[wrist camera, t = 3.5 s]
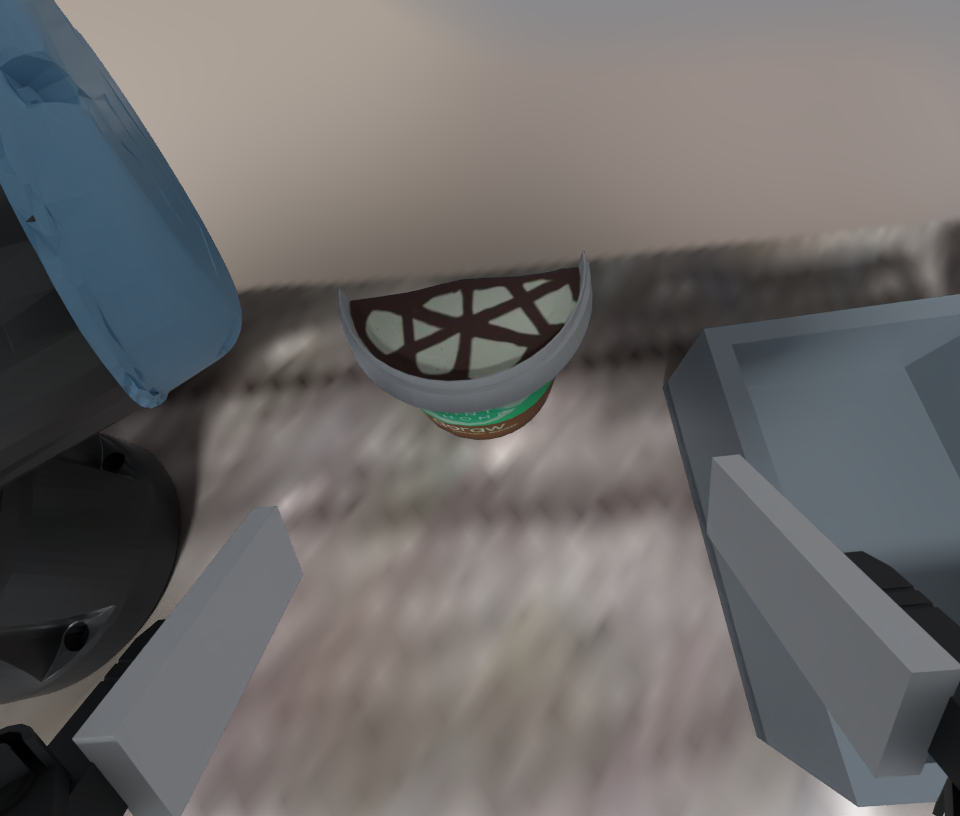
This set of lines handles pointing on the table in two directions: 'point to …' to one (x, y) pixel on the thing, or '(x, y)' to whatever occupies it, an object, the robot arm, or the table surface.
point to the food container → (473, 345)
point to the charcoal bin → (832, 485)
